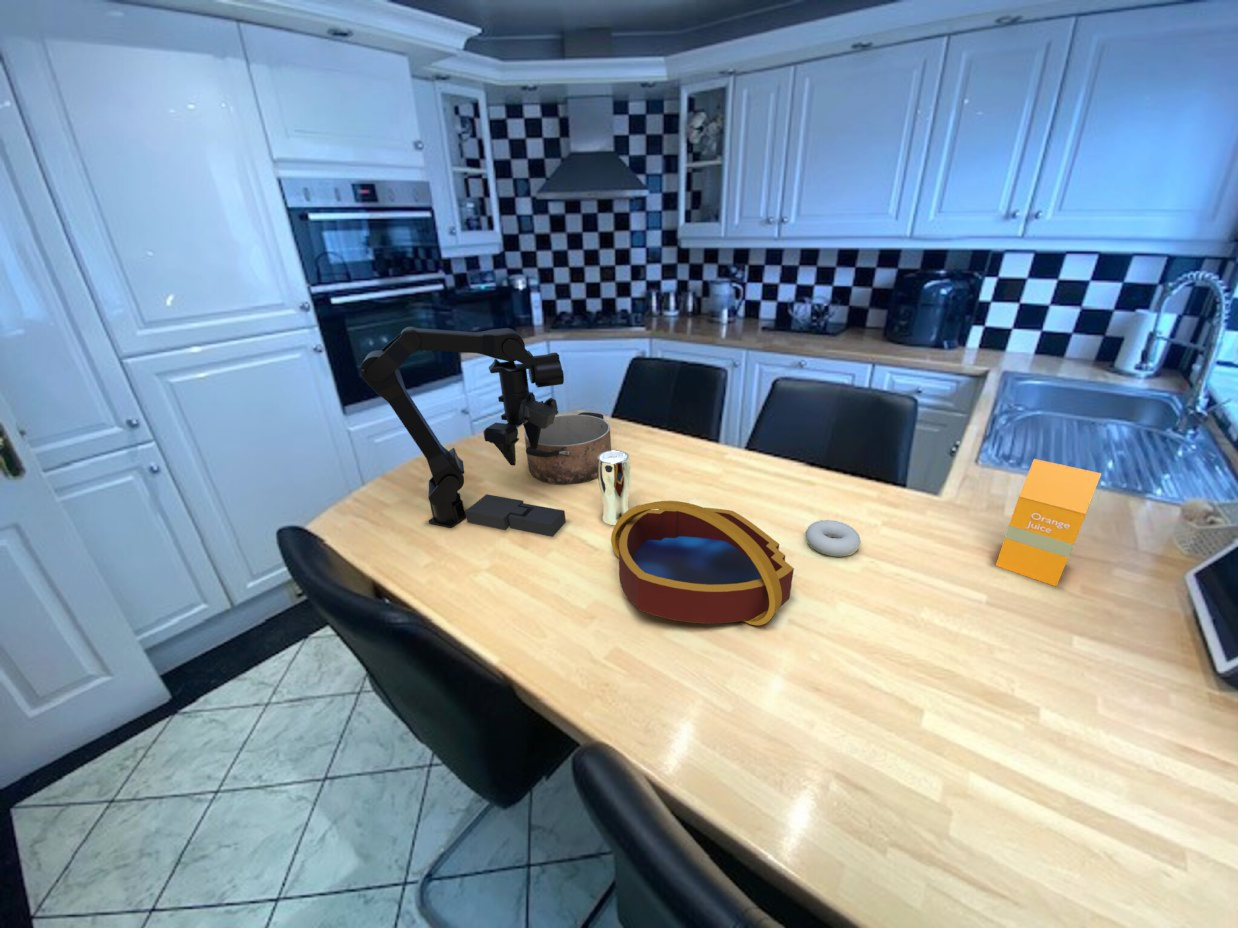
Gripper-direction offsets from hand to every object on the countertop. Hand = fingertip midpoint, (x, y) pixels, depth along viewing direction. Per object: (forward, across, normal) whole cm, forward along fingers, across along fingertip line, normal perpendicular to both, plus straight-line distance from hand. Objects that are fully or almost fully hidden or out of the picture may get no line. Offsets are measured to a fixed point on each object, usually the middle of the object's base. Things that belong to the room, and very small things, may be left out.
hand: (524, 456), depth 114 cm
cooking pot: (+12, +21, 0) cm, 24 cm away
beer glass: (+12, 0, -22) cm, 25 cm away
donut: (+12, +4, -66) cm, 67 cm away
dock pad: (+12, -8, +3) cm, 15 cm away
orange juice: (+12, +8, -99) cm, 100 cm away
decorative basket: (+12, -16, -43) cm, 47 cm away
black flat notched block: (+12, -8, -7) cm, 16 cm away
